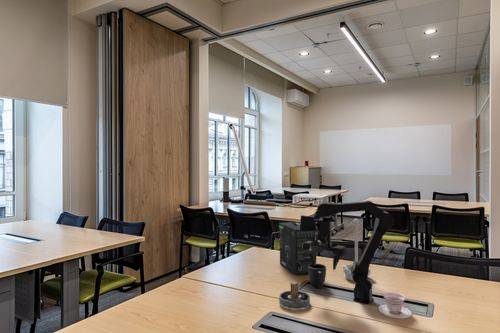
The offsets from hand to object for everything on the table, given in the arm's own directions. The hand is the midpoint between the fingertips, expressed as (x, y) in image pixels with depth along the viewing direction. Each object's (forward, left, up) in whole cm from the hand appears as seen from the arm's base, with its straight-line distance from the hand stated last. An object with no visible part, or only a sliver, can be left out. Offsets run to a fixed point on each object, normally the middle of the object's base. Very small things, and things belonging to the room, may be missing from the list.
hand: (324, 267), depth 146 cm
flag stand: (-1, -33, -13) cm, 36 cm away
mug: (+8, -9, -13) cm, 18 cm away
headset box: (+31, -28, -13) cm, 44 cm away
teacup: (-28, -4, -13) cm, 31 cm away
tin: (+7, +13, -13) cm, 20 cm away
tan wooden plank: (+7, +13, -12) cm, 19 cm away
